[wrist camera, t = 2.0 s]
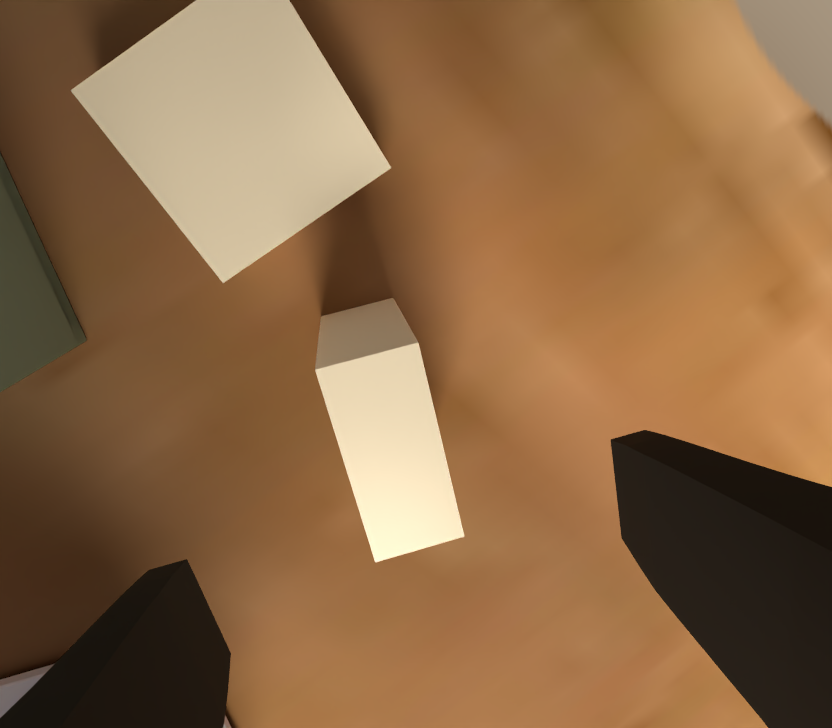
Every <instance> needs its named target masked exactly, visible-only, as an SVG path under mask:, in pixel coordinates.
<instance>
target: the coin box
mask: <svg viewBox="0 0 832 728" xmlns="http://www.w3.org/2000/svg"><path fill="white" fill-rule="evenodd" d="M85 341H87V340H86V337H85V335H84V333H83V331H82V329H81V327H80V324H79V322H78V320H77V318H76V316H75V314H74V312H73V309H72V307H71V305H70V303H69V301H68V299H67V296H66V294H65V292H64V290H63V288H62V286H61V283H60V281H59V279H58V277H57V275H56V273H55V270H54V268H53V266H52V264H51V262H50V260H49V257H48V255H47V253H46V251H45V249H44V247H43V244H42V242H41V240H40V238H39V236H38V234H37V231H36V229H35V227H34V225H33V223H32V221H31V218H30V216H29V214H28V212H27V210H26V208H25V205H24V203H23V201H22V199H21V197H20V195H19V193H18V190H17V188H16V186H15V184H14V182H13V180H12V177H11V175H10V173H9V171H8V169H7V167H6V164H5V162H4V160H3V158H2V156H1V154H0V392H1V391H3V390H5V389H7V388H8V387H10V386H12V385H13V384H15V383H17V382H18V381H20V380H22V379H23V378H25V377H27V376H28V375H30V374H32V373H33V372H35V371H37V370H38V369H40V368H42V367H43V366H45V365H47V364H48V363H50V362H52V361H53V360H55V359H57V358H58V357H60V356H62V355H63V354H65V353H67V352H68V351H70V350H72V349H73V348H75V347H77V346H78V345H80V344H82V343H84V342H85Z"/></svg>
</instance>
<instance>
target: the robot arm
mask: <svg viewBox="0 0 832 728" xmlns="http://www.w3.org/2000/svg"><path fill="white" fill-rule="evenodd" d="M611 447H612V455H613V464H614V473H615V482H616V491H617V500H618V509H619V518H620V527H621V536H622V539H623V541H624V542H625V544H626V546H627V547H628V549H629V550H630V552H631V554H632V555H633V557H634V558H635V560H636V562H637V563H638V565H639V566H640V568H641V569H642V571H643V572H644V574H645V575H646V577H647V578H648V580H649V581H650V583H651V585H652V586H653V588H654V589H655V590H656V592H657V593H658V594H659V595H660V597H661V598H662V599H663V600H664V602H665V603H666V604H667V605H668V607H669V608H670V609H671V610H672V612H673V613H674V614H675V615H676V616H677V618H678V619H679V620H680V621H681V623H682V624H683V625H684V626H685V627H686V629H687V630H688V631H689V632H690V634H691V635H692V636H693V637H694V638H695V640H696V641H697V642H698V643H699V644H700V646H701V647H702V648H703V649H704V650H705V652H706V653H707V654H708V655H709V656H710V658H711V659H712V660H713V661H714V662H715V664H716V665H717V666H718V667H719V668H720V670H721V671H722V672H723V673H724V674H725V676H726V677H727V678H728V679H729V680H730V682H731V683H732V684H733V685H734V686H735V688H736V689H737V690H738V691H739V692H740V694H741V695H742V696H743V697H744V698H745V700H746V701H747V702H748V703H749V704H750V706H751V707H752V708H753V709H754V710H755V712H756V713H757V714H758V715H759V716H760V718H761V719H762V720H763V721H764V723H765V724H766V725H767V727H768V728H832V487H829V486H825V485H822V484H818V483H815V482H812V481H808V480H805V479H801V478H798V477H795V476H791V475H788V474H785V473H782V472H778V471H775V470H772V469H769V468H766V467H762V466H759V465H756V464H753V463H750V462H747V461H744V460H740V459H737V458H734V457H731V456H728V455H725V454H722V453H719V452H716V451H713V450H710V449H707V448H704V447H701V446H698V445H695V444H692V443H688V442H685V441H682V440H679V439H676V438H673V437H669V436H666V435H662V434H659V433H655V432H651V431H647V430H643V431H640V432H636V433H632V434H629V435H625V436H622V437H618V438H615V439H611ZM230 656H231V653H230V651H229V649H228V646H227V644H226V642H225V640H224V638H223V636H222V633H221V631H220V629H219V627H218V625H217V623H216V621H215V618H214V616H213V614H212V612H211V610H210V608H209V605H208V603H207V601H206V599H205V597H204V595H203V593H202V590H201V588H200V586H199V584H198V582H197V580H196V577H195V575H194V573H193V571H192V569H191V567H190V565H189V562H188V560H187V559H186V560H183V561H179V562H176V563H172V564H169V565H165V566H162V567H158V568H154V569H151V570H149V571H148V572H146V573H145V574H144V575H143V576H142V577H141V578H140V579H138V580H137V581H136V582H135V583H134V584H133V585H132V586H131V587H130V588H129V589H128V590H127V591H126V592H125V593H124V594H123V595H122V596H121V597H120V598H119V599H118V600H117V601H116V602H115V603H114V604H113V605H112V606H111V607H110V608H109V609H108V610H107V611H106V612H105V613H104V614H103V615H102V616H101V617H100V618H99V619H98V620H97V621H96V622H95V623H94V624H93V625H92V626H91V627H90V628H89V629H88V630H87V631H86V632H85V633H84V634H83V635H82V636H81V637H80V639H79V640H78V641H77V642H76V643H75V644H74V645H73V646H72V647H71V648H70V649H69V650H68V651H67V652H66V653H65V654H64V655H63V656H62V657H61V658H60V659H59V660H58V661H57V662H56V663H55V664H52V665H49V666H45V667H42V668H38V669H35V670H32V671H28V672H25V673H21V674H18V675H14V676H11V677H8V678H4V679H1V680H0V728H231V726H230V724H229V722H228V720H227V718H226V716H225V712H226V702H227V693H228V682H229V669H230Z"/></svg>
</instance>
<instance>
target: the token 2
mask: <svg viewBox="0 0 832 728" xmlns="http://www.w3.org/2000/svg"><path fill="white" fill-rule="evenodd" d="M315 371H316V374H317V377H318V381H319V384H320V387H321V390H322V393H323V397H324V400H325V403H326V406H327V409H328V412H329V416H330V419H331V422H332V425H333V428H334V432H335V435H336V438H337V441H338V444H339V448H340V451H341V454H342V457H343V460H344V464H345V467H346V470H347V473H348V476H349V480H350V483H351V486H352V489H353V492H354V496H355V499H356V502H357V505H358V508H359V512H360V515H361V518H362V521H363V524H364V528H365V531H366V534H367V537H368V540H369V544H370V547H371V550H372V553H373V556H374V560H375V562H378V561H382V560H385V559H389V558H392V557H396V556H399V555H402V554H406V553H409V552H413V551H416V550H420V549H423V548H426V547H430V546H433V545H437V544H440V543H444V542H447V541H450V540H454V539H457V538H461V537H464V533H463V529H462V525H461V520H460V516H459V512H458V508H457V504H456V499H455V495H454V491H453V487H452V482H451V478H450V474H449V470H448V465H447V461H446V457H445V453H444V449H443V444H442V440H441V436H440V432H439V427H438V423H437V419H436V415H435V411H434V406H433V402H432V398H431V394H430V389H429V385H428V381H427V377H426V373H425V368H424V364H423V360H422V356H421V351H420V347H419V343H418V341H417V339H416V337H415V336H414V334H413V332H412V330H411V328H410V327H409V325H408V323H407V321H406V320H405V318H404V316H403V314H402V312H401V311H400V309H399V307H398V305H397V304H396V302H395V300H394V298H390V299H386V300H383V301H379V302H375V303H371V304H367V305H363V306H359V307H355V308H352V309H348V310H344V311H340V312H336V313H332V314H328V315H324V316H321V321H320V330H319V339H318V348H317V357H316V366H315Z"/></svg>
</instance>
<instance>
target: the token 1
mask: <svg viewBox="0 0 832 728" xmlns="http://www.w3.org/2000/svg"><path fill="white" fill-rule="evenodd" d="M71 92H72V93H73V94H74V95H75V97H76V98H77V99H78V100H79V102H80V103H81V104H82V106H83V107H84V108H85V109H86V111H87V112H88V113H89V114H90V116H91V117H92V118H93V119H94V121H95V122H96V123H97V124H98V126H99V127H100V128H101V130H102V131H103V132H104V133H105V135H106V136H107V137H108V138H109V140H110V141H111V142H112V143H113V145H114V146H115V147H116V148H117V150H118V151H119V152H120V154H121V155H122V156H123V157H124V159H125V160H126V161H127V162H128V164H129V165H130V166H131V167H132V169H133V170H134V171H135V172H136V174H137V175H138V176H139V178H140V179H141V180H142V181H143V183H144V184H145V185H146V186H147V188H148V189H149V190H150V191H151V193H152V194H153V195H154V196H155V198H156V199H157V200H158V202H159V203H160V204H161V205H162V207H163V208H164V209H165V210H166V212H167V213H168V214H169V215H170V217H171V218H172V219H173V220H174V222H175V223H176V224H177V226H178V227H179V228H180V229H181V231H182V232H183V233H184V234H185V236H186V237H187V238H188V239H189V241H190V242H191V243H192V244H193V246H194V247H195V248H196V250H197V251H198V252H199V253H200V255H201V256H202V257H203V258H204V260H205V261H206V262H207V263H208V265H209V266H210V267H211V268H212V270H213V271H214V272H215V274H216V275H217V276H218V277H219V279H220V280H221V281H222V282H223V283H224V282H225V281H227V280H228V279H230V278H231V277H233V276H234V275H236V274H237V273H239V272H240V271H241V270H243V269H244V268H246V267H247V266H249V265H250V264H252V263H253V262H255V261H256V260H258V259H259V258H260V257H262V256H263V255H265V254H266V253H268V252H269V251H271V250H272V249H274V248H275V247H277V246H278V245H279V244H281V243H282V242H284V241H285V240H287V239H288V238H290V237H291V236H293V235H294V234H295V233H297V232H298V231H300V230H301V229H303V228H304V227H306V226H307V225H309V224H310V223H312V222H313V221H314V220H316V219H317V218H319V217H320V216H322V215H323V214H325V213H326V212H328V211H329V210H331V209H332V208H333V207H335V206H336V205H338V204H339V203H341V202H342V201H344V200H345V199H347V198H348V197H350V196H351V195H352V194H354V193H355V192H357V191H358V190H360V189H361V188H363V187H364V186H366V185H367V184H369V183H370V182H371V181H373V180H374V179H376V178H377V177H379V176H380V175H382V174H383V173H385V172H386V171H388V170H389V169H390V168H391V166H390V165H389V163H388V162H387V160H386V158H385V157H384V155H383V153H382V152H381V150H380V148H379V147H378V145H377V143H376V142H375V140H374V139H373V137H372V135H371V134H370V132H369V130H368V129H367V127H366V125H365V124H364V122H363V120H362V119H361V117H360V116H359V114H358V112H357V111H356V109H355V107H354V106H353V104H352V102H351V101H350V99H349V97H348V96H347V94H346V93H345V91H344V89H343V88H342V86H341V84H340V83H339V81H338V79H337V78H336V76H335V74H334V73H333V71H332V70H331V68H330V66H329V65H328V63H327V61H326V60H325V58H324V56H323V55H322V53H321V51H320V50H319V48H318V47H317V45H316V43H315V42H314V40H313V38H312V37H311V35H310V33H309V32H308V30H307V28H306V27H305V25H304V24H303V22H302V20H301V19H300V17H299V15H298V14H297V12H296V10H295V9H294V7H293V5H292V4H291V2H290V1H289V0H196V1H194V2H193V3H192V4H190V5H189V6H187V7H186V8H185V9H183V10H182V11H181V12H179V13H178V14H176V15H175V16H174V17H172V18H171V19H169V20H168V21H167V22H165V23H164V24H162V25H161V26H160V27H158V28H157V29H155V30H154V31H153V32H151V33H150V34H148V35H147V36H146V37H144V38H143V39H141V40H140V41H139V42H137V43H136V44H135V45H133V46H132V47H130V48H129V49H128V50H126V51H125V52H123V53H122V54H121V55H119V56H118V57H116V58H115V59H114V60H112V61H111V62H109V63H108V64H107V65H105V66H104V67H102V68H101V69H100V70H98V71H97V72H95V73H94V74H93V75H91V76H90V77H88V78H87V79H86V80H84V81H83V82H82V83H80V84H79V85H77V86H76V87H75V88H73V89H72V90H71Z"/></svg>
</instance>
